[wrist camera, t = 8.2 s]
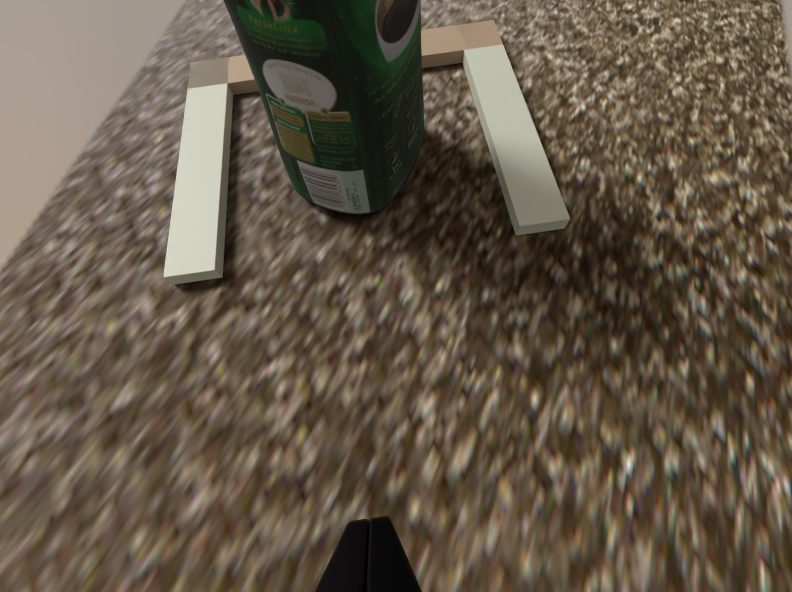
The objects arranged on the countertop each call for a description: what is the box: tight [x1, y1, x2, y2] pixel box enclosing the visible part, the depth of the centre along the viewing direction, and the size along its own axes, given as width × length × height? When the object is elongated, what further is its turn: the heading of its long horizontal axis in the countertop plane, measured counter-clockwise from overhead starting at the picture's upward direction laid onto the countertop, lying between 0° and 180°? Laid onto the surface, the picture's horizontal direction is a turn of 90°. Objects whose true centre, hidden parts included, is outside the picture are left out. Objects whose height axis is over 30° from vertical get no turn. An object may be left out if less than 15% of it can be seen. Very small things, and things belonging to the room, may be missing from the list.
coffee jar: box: [224, 0, 424, 215], centre depth 18 cm, size 10×8×19 cm
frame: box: [164, 20, 570, 285], centre depth 26 cm, size 19×24×1 cm
